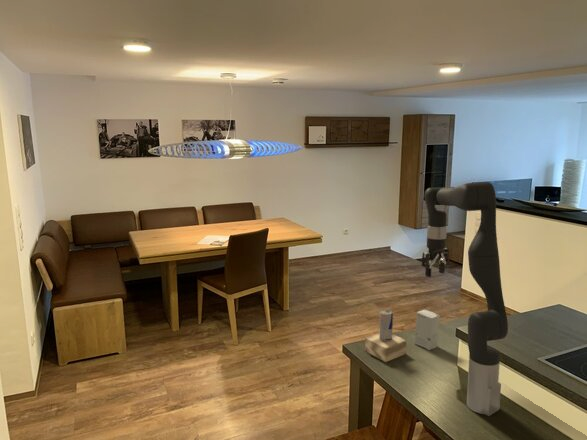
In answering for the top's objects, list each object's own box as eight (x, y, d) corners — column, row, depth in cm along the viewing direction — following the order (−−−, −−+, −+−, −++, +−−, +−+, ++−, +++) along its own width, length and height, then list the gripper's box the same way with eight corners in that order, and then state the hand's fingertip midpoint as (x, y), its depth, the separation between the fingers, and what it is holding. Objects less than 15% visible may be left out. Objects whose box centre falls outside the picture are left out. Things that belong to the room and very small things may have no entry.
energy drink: (394, 338, 185) (395, 311, 183) (387, 343, 181) (388, 315, 179) (383, 335, 189) (384, 308, 186) (376, 339, 185) (377, 312, 183)
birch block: (406, 353, 184) (406, 340, 183) (385, 362, 178) (385, 348, 177) (385, 343, 194) (385, 330, 193) (365, 350, 188) (365, 337, 187)
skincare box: (414, 344, 193) (415, 311, 190) (422, 340, 197) (423, 308, 194) (430, 350, 186) (431, 317, 184) (439, 346, 190) (440, 314, 187)
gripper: (432, 240, 172) (431, 280, 175) (455, 235, 180) (453, 273, 183) (417, 237, 178) (416, 275, 181) (440, 232, 186) (438, 269, 189)
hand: (435, 274), depth 182 cm, fingers open, 8 cm apart
